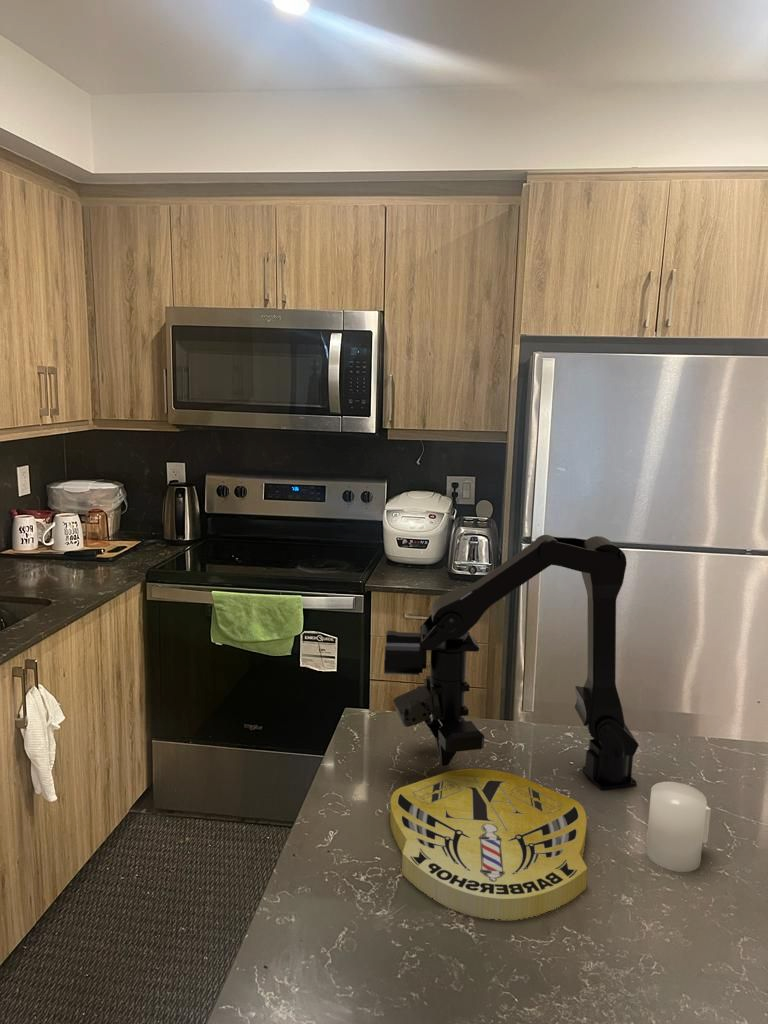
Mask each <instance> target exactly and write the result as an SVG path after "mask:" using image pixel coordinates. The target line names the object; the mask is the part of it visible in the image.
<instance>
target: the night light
mask: <svg viewBox="0 0 768 1024" xmlns="http://www.w3.org/2000/svg"><path fill="white" fill-rule="evenodd" d="M707 801H708V800H707V797H706V795H704V794H703V793H702V792H701V791H700V790H698V789H697V788H695V787H694V786H690V785H689V784H685V783H682V782H677V781H676V782H675V781H662V782H657V783H655V784H653V786H652V787H651V789H650V799H649V809H648V810H649V811H648V822H647V832H646V845H645V853H646V855H647V857H648V856H649V857H648V858H649V860H650V861H652V862H653V863H654V862H655V863H654V864H656V865H657V866H659V867H661V868H663V869H665V870H668V871H672V872H677V873H690V872H694V871H696V870H697V869H698V868H699V867H700V865H701V860H702V852H703V851H702V850H703V844H705V843H708V837H709V830H710V821H711V812H712V808H710V807H709V806H708V803H707Z"/></svg>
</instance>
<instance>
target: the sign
mask: <svg viewBox="0 0 768 1024" xmlns="http://www.w3.org/2000/svg"><path fill="white" fill-rule="evenodd" d="M389 810H390V813H389V814H390V815H389V820H390V824H389V825H390V828H391V829H390V830H391V832H392V835H393V837H394V840H395V842H396V844H397V846H398V848H399V850H400V851H401V853H402V861H401V862H402V864H401V868H402V869H401V873H402V875H403V876H404V877H405V878H406V879H407V881H409V882H410V883H411V884H412V885H414V886H415V887H416V888H417V889H418V890H419V891H421V892H422V893H423V892H424V895H426V894H427V895H426V896H427V897H429V898H431V899H432V898H433V901H435V902H437V903H439V904H440V905H443V906H445V907H446V908H449V909H451V910H453V911H456V912H458V913H461V914H464V915H467V916H471V917H474V918H478V917H479V919H483V918H484V920H490V919H495V920H494V921H499V920H498V919H501V920H500V921H519V920H518V919H520V920H524V919H523V918H526V919H529V918H528V917H531V918H534V917H533V916H536V917H539V916H541V915H540V914H543V913H545V912H548V911H551V910H553V911H555V910H557V909H559V908H561V907H562V906H561V905H563V906H565V905H566V904H568V903H570V902H571V901H573V900H574V899H575V898H576V897H578V896H579V895H581V894H583V893H582V892H584V891H585V890H586V889H587V882H588V881H587V878H588V867H587V865H586V863H585V861H584V859H583V857H584V854H585V853H584V852H585V848H584V847H585V846H586V837H587V835H586V834H587V833H586V832H587V824H588V822H587V813H586V811H585V809H584V807H583V805H582V804H581V803H579V802H578V801H577V800H575V799H573V798H571V797H569V796H566V795H564V794H561V793H559V792H557V791H555V790H552V789H550V788H547V787H546V786H542V784H541V785H540V784H538V783H536V782H534V781H531V780H529V779H527V778H524V777H522V776H520V775H519V776H518V775H517V774H512V773H511V772H510V773H509V772H505V771H502V770H501V771H500V770H495V769H488V768H487V769H485V768H463V769H455V770H450V771H446V772H445V771H444V772H442V773H440V774H437V775H435V776H434V775H433V776H430V777H429V778H425V779H422V780H419V781H417V782H414V783H410V784H407V785H404V786H401V787H399V788H397V789H395V791H393V793H392V795H391V797H390V809H389ZM583 853H584V854H583ZM569 901H570V902H569ZM564 904H565V905H564ZM560 906H561V907H560ZM558 907H559V908H558ZM556 908H557V909H556ZM554 909H555V910H554ZM551 912H552V911H551ZM548 913H549V912H548ZM545 914H546V913H545ZM538 915H539V916H538ZM543 915H544V914H543ZM506 919H507V920H506Z"/></svg>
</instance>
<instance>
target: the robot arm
mask: <svg viewBox="0 0 768 1024" xmlns="http://www.w3.org/2000/svg"><path fill="white" fill-rule="evenodd" d="M627 564H628V563H627V556H626V554H625V553H624V551H623V550H622V549H621V548H620V547H619V546H617V545H616V544H614V543H613V542H612V541H611V540H610V539H608V538H606V537H603V536H598V535H596V536H591V537H589V538H587V539H584V538H577V537H561V536H554V535H549V534H542V535H540V536H538V537H537V538H536V539H535V540H534V541H532V542H531V543H530V544H529V545H527V546H526V547H525V548H523V549H521V550H520V551H518V552H517V553H515V555H513V556H511V557H510V558H508V559H507V560H506V561H504V562H503V563H501V564H500V565H498V566H497V567H496V568H494V569H492V570H491V571H489V572H488V573H487V574H485V575H483V576H481V578H480V579H478V580H476V581H475V582H473V583H470V584H468V585H464V586H462V587H458V588H455V589H453V590H450V591H449V592H446V593H444V594H442V595H440V596H438V597H437V598H436V599H435V600H434V601H433V603H432V605H431V611H430V612H431V613H430V614H429V615H428V616H427V618H426V619H425V621H423V623H422V624H421V625H420V626H419V628H418V630H419V631H418V632H406V631H405V632H401V631H396V630H387V631H386V637H385V640H386V642H385V646H384V658H383V660H384V661H383V662H384V663H383V665H384V667H383V671H384V675H404V676H405V675H406V676H420V674H423V669H425V670H426V669H427V659H428V658H427V655H428V654H427V653H428V652H427V651H430V659H429V660H430V663H429V665H430V666H429V667H430V668H429V675H426V676H425V678H424V679H423V680H424V681H423V682H424V683H423V685H417V687H416V688H414V689H412V690H410V691H407V692H405V693H403V694H401V695H398V696H396V697H395V698H394V699H392V700H393V705H394V707H395V709H396V714H397V715H398V718H399V720H400V722H401V723H402V725H403V726H404V727H406V728H409V727H412V726H417V725H419V724H421V723H423V722H424V723H425V725H426V726H427V727H428V728H429V731H430V732H431V734H432V736H433V737H434V740H435V744H436V750H437V754H438V757H439V762H440V764H441V766H442V767H445V766H446V767H447V766H449V765H450V763H451V762H452V760H453V758H454V756H455V754H456V753H457V752H466V751H467V752H468V751H475V750H482V749H483V748H484V747H485V735H484V733H483V732H482V731H481V729H480V727H478V726H477V725H476V723H474V722H473V721H472V720H467V719H466V718H465V716H469V708H468V706H466V705H465V700H466V692H470V687H471V686H470V684H469V683H468V682H467V680H466V679H467V678H466V677H467V675H466V672H467V652H472V653H473V652H476V653H477V652H479V651H480V646H479V643H478V640H476V639H475V638H474V637H473V636H472V634H471V633H470V632H469V631H471V629H473V627H475V626H476V624H477V623H478V622H479V621H480V619H481V618H482V617H483V615H484V614H485V613H486V612H487V611H488V610H489V609H490V608H491V607H492V606H493V605H494V604H496V603H497V602H499V601H501V600H503V598H505V597H506V596H508V595H509V594H510V593H512V592H514V591H515V590H516V589H518V588H520V587H521V586H522V585H524V584H525V583H527V582H528V581H530V580H531V579H533V578H534V577H536V576H538V574H540V573H541V572H543V571H545V570H546V569H547V568H549V567H550V566H556V567H562V568H566V569H569V570H573V571H577V572H581V576H582V580H583V583H584V587H585V590H586V595H587V676H586V680H585V681H584V682H585V683H584V685H583V686H580V685H575V686H574V688H575V695H576V701H575V702H576V703H575V705H574V709H575V711H576V713H577V715H578V717H579V719H580V721H581V722H582V724H583V726H584V727H586V729H587V732H588V733H589V736H590V737H592V739H589V744H588V745H589V746H588V749H587V750H586V753H585V754H586V755H585V764H584V765H585V766H582V768H581V769H582V772H584V774H585V775H586V776H587V777H588V778H589V779H590V780H591V781H592V782H593V783H594V784H595V785H596V786H597V787H598V788H599V789H601V790H603V791H604V790H610V789H611V790H612V789H618V788H620V789H621V788H627V787H635V786H637V785H638V783H637V782H638V781H636V779H634V778H633V777H632V774H633V761H634V755H635V754H636V753H637V750H638V747H639V743H638V741H637V739H636V738H635V736H634V735H633V734H632V732H631V731H630V729H629V727H628V726H627V725H626V722H625V717H624V712H623V711H624V710H623V707H622V703H621V700H620V695H619V692H618V689H617V684H616V678H617V677H616V672H617V671H616V670H617V669H616V667H617V666H616V665H617V664H616V663H617V661H616V660H617V659H616V657H617V655H616V650H617V648H616V647H617V645H616V644H617V641H616V640H617V598H618V596H619V593H620V591H621V589H622V586H623V584H624V579H625V574H626V568H627Z"/></svg>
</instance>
